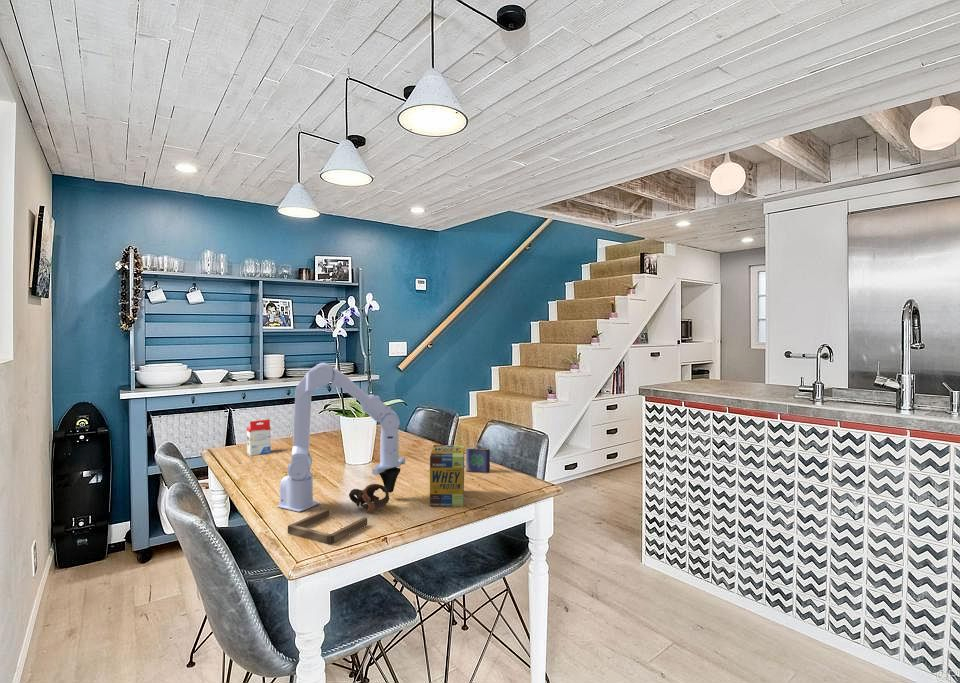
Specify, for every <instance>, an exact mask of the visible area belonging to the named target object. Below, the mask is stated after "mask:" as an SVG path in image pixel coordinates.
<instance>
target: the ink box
mask: <svg viewBox="0 0 960 683" xmlns="http://www.w3.org/2000/svg"><path fill="white" fill-rule="evenodd" d="M270 422H271V420H270V419H260V420H259V419H258V420H250V421H249V426H247V427H246V453H247V455H249V456H250V457H251V456H257V455H258V456H259V455H264V454H265V455H266V454H271V452H272V451H271V450H272V449H271V445H272V444H271V423H270ZM259 423H260V424H259Z"/></svg>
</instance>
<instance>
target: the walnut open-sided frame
mask: <svg viewBox="0 0 960 683" xmlns="http://www.w3.org/2000/svg"><path fill="white" fill-rule="evenodd" d="M330 513H331V512H330V508H329V509H328V508H325V509H322V510H321V511H318V512H316V513H313V514H312V515H310V516H307V517H305V518H302V519H301V520H298V521H296V522H294V523H291V524H288V525H287V534H289V535H293V536H295V537H300V538H304V539H307V540H311V541H316V542H317V543H322V544H327V545H333V544H335V543H337V542H339V541H340V539H341V540H343V539H344V538H346V537H348V536H350V535H352V534H353V532H354V533H356V532H358V531H359V530H361V529H363V528H365V527H366V525H367V526H368V517H362V518H360V519H358V520H356V521H354V522H352V523H350V524H348V525H346V526H344V527H342V528H340V529H338V530H336V531H334V532H332V533H328V532H325V531H324V532H323V531H319V530H315V529H310V528H308V527H310V526H312V525H314V524H316V523H318V522H321V521H323V520H325V519H327V518H329V517H330ZM364 526H365V527H364ZM362 527H363V528H362ZM360 528H361V529H360ZM358 529H359V530H358ZM355 531H356V532H355ZM351 533H352V534H351ZM349 534H350V535H349ZM342 538H343V539H342Z"/></svg>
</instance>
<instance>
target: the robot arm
mask: <svg viewBox="0 0 960 683" xmlns="http://www.w3.org/2000/svg"><path fill="white" fill-rule="evenodd" d="M330 383H331V384H330ZM329 384H330V386H331V387H336V388H337V387H338V388H341V389H343V390H344V391H345V392H346V393H347V394H349V395H350V396H351V397H353V398H354V399H355V400H356V401H358V402H359V403H360V409H361V410H362V411H363V412H364V413H365V414H367V415H368V416H369V417H370V418H371V419H373V421H375V422H378V423H379V424H380V435H379V438H380V441H379V442H380V444H379V445H380V447H379V448H380V451H379V453H380V454H379V456H380V458H379V460H380V462H379V463H378V464H376V466H374V467H372V468H371V470H372V473H371V474H372V475H375V476H380V478H381V480H382V483H383V486H384V487H386V488H387V490H388V492H389V493H393V492H394V490H395V485H396V482H397V479H398V476H399V475H400V473H401V468H400V467H402V465H405V464H406V457H399V455H400V454H399V453H400V451H399V446H400V445H399V444H400V443H399V438H400V437H399V427H400V424H401V421H400V417H399V416H398V414H397V413H396V412H395V410H393V409H392V407H391V406H390V405H389V406H388V405H386V403H384V402H383V401H381V397H380V396H379V395H374V394H367V393H366V392H365V391H363V390H362V388H360V387H359V386H358V385H357V384H356V383H354V381H353V380H352V379H350V378H349V377H348V376H347V375H346V374H344V373H343V372H342V371H340V370H339V369H337V368H335V367H334V368H333V366H332V365H331V364H330V363H327V362H320V363H318V364H316V365H314V366H313V367H312V368H310V369H309V370H308V372H306V374H305V375H304V376H303V378H302V379H301V380H300V381H299V383H298V384H297V385H296V387H295V392H294V393H295V396H294V417H293V418H294V419H293V422H294V423H293V437H292V438H293V440H292V451H291V459H290V462H289V464H288V465H287V474H288V475H285V476H284V477H282V479H281V481H280V483H279V504H277V505H276V506H277V508H281V509H285V510H290V511H293V512H298V513H300V512H303V511H305V510H308V509H310V508H312V507H315V506H317V505H319V504H320V502H319V501H315V500H314V495H313V494H314V492H313V491H314V487H313V486H314V485H313V484H314V483H313V481H314V477H313V473H312V472H311V467H312V464H313V458H312V456H311V455H310V435H311V434H310V432H311V428H310V427H311V413H312V410H311V409H312V394H314V393H315V392H316V391H317V390H318V389H320V388H322V387H325V386H328V385H329Z"/></svg>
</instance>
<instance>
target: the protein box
mask: <svg viewBox="0 0 960 683" xmlns="http://www.w3.org/2000/svg"><path fill="white" fill-rule="evenodd" d="M464 494H465V445H457V444H456V445H454V444H449V445H447V444H434V445H433V447H432V449H431V453H430V456H429V507H456V506H463V507H464V497H465V496H464Z"/></svg>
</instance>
